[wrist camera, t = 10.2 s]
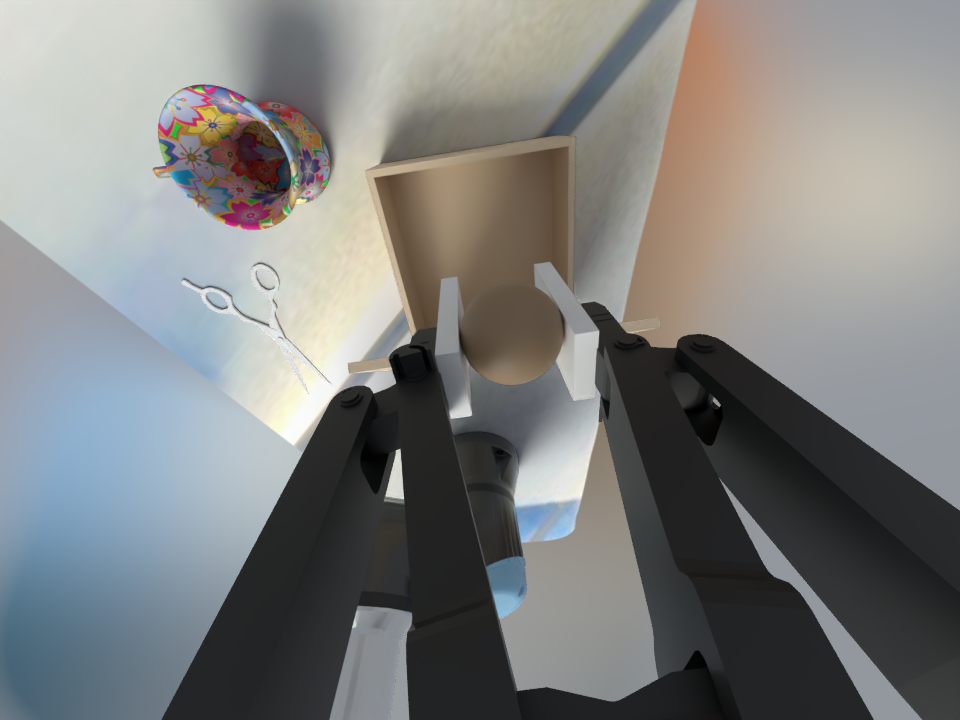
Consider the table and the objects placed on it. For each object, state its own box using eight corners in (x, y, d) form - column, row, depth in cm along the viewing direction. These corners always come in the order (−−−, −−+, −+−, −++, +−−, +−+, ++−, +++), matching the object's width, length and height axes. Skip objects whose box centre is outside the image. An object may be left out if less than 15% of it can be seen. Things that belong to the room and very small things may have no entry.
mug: (317, 91, 32) (264, 76, 23) (349, 200, 37) (316, 223, 28) (188, 106, 32) (84, 97, 23) (237, 213, 37) (169, 240, 28)
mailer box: (557, 313, 46) (572, 340, 40) (423, 333, 46) (419, 362, 40) (555, 135, 34) (576, 136, 29) (379, 164, 35) (364, 170, 29)
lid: (572, 327, 40) (576, 358, 40) (416, 350, 40) (420, 381, 40) (816, 221, 10) (835, 342, 10) (209, 314, 11) (225, 431, 11)
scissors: (256, 249, 39) (352, 381, 49) (260, 247, 39) (353, 377, 50) (180, 281, 40) (288, 402, 51) (184, 279, 41) (290, 399, 51)
